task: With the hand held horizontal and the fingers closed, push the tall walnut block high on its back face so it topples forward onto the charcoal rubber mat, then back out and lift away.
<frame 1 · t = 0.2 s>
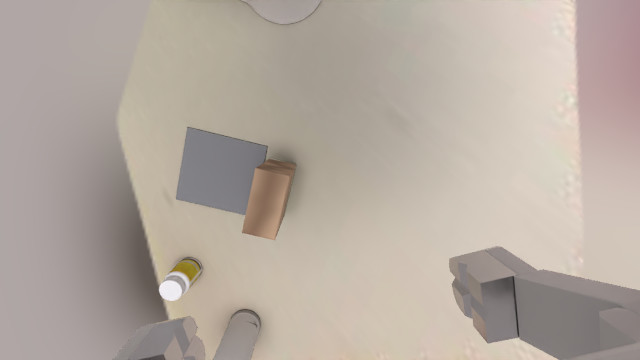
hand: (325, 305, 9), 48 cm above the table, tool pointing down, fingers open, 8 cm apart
walnut block: (277, 186, 57), on the table
travel mug: (246, 321, 62), on the table
supplement bottle: (191, 267, 60), on the table
mat: (221, 172, 56), on the table
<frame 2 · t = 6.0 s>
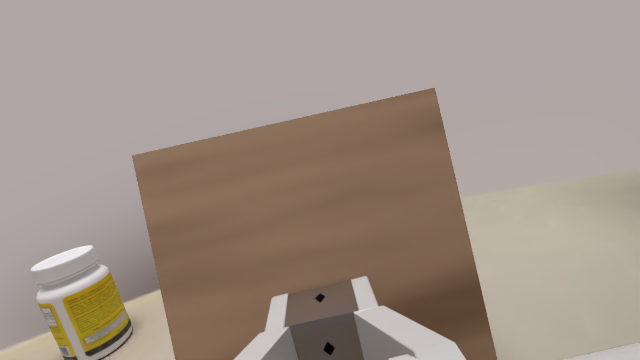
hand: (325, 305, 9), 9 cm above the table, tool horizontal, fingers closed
supplement bottle: (102, 347, 25), on the table
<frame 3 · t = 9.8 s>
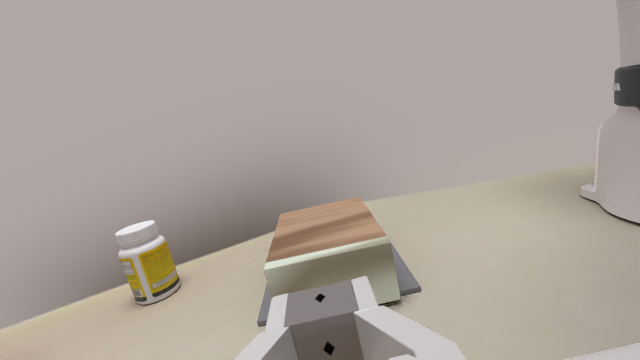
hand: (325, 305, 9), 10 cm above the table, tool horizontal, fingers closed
walnut block: (333, 285, 23), point 3 cm above the table, tilted 90°, touching mat
supplement bottle: (160, 294, 35), on the table
mat: (332, 265, 32), on the table
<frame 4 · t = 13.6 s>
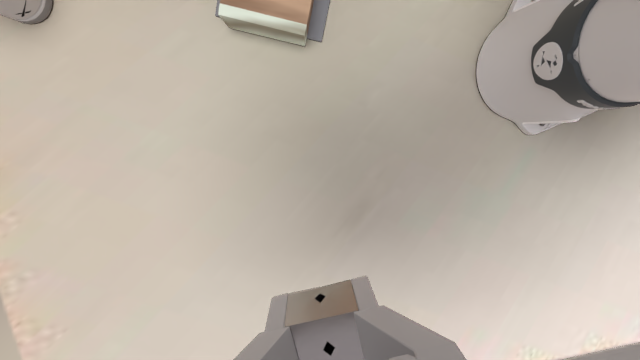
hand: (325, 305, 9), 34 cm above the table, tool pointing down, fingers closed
walnut block: (264, 31, 36), point 3 cm above the table, tilted 90°, touching mat
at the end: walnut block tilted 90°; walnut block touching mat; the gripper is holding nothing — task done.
